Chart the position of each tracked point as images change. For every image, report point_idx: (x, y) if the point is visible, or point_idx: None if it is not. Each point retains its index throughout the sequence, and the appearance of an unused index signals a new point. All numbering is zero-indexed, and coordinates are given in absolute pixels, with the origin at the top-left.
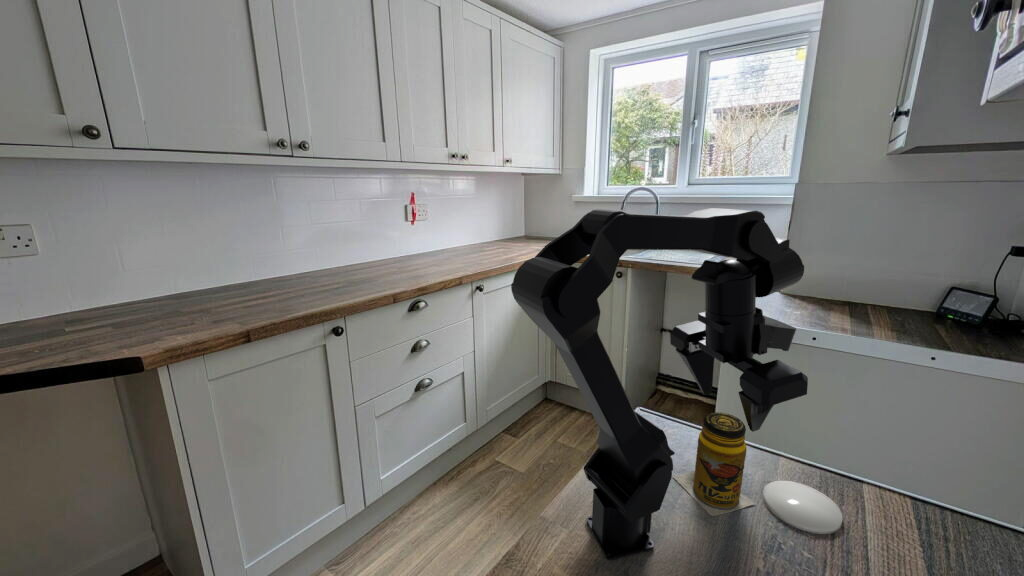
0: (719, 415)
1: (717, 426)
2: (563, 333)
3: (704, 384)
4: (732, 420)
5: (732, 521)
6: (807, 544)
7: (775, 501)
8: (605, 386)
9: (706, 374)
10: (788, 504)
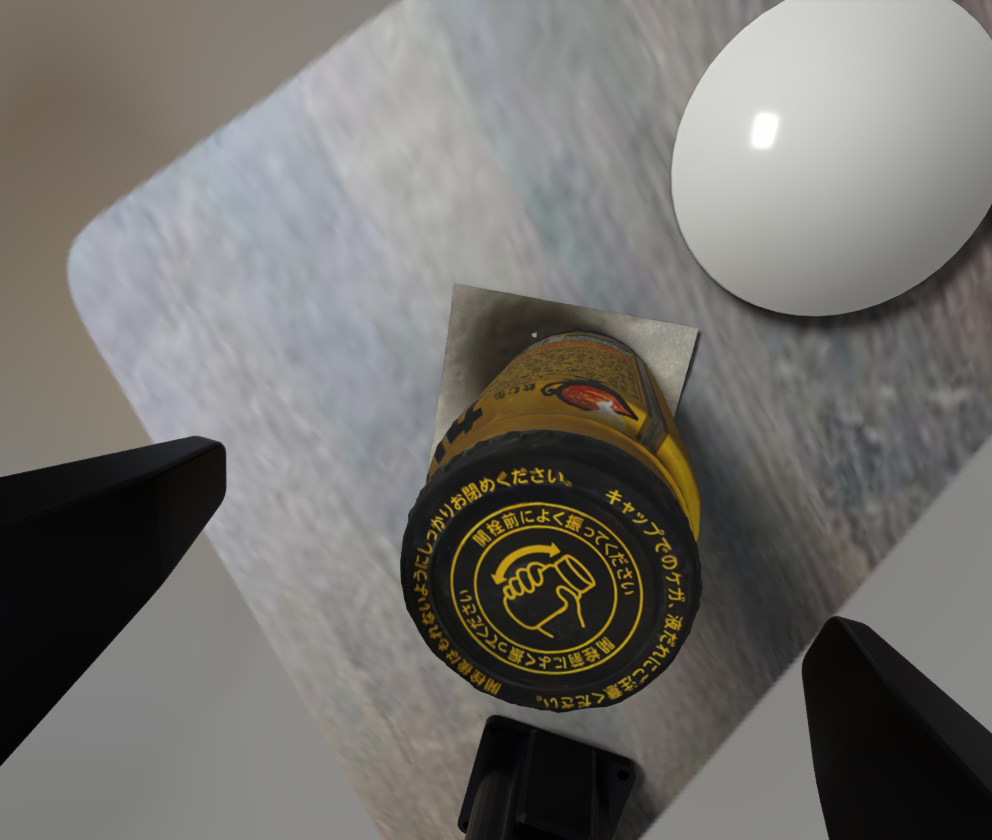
0: (459, 538)
1: (559, 686)
2: None
3: (133, 578)
4: (561, 523)
5: (697, 480)
6: (932, 347)
7: (755, 263)
8: None
9: (5, 631)
10: (799, 226)
